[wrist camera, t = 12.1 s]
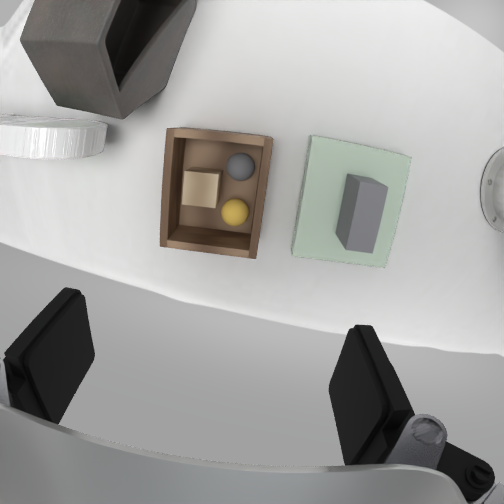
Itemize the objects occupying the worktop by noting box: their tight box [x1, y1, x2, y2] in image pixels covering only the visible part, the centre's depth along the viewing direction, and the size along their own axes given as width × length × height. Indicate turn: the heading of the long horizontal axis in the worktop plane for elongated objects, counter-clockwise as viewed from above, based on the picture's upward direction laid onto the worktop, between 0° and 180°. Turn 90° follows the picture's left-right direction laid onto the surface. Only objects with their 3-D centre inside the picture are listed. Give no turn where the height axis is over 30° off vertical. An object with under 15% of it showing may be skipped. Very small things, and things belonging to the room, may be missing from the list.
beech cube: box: [182, 167, 223, 208], centre depth 34 cm, size 4×4×4 cm
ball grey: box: [226, 153, 255, 181], centre depth 33 cm, size 3×3×3 cm
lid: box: [291, 135, 411, 268], centre depth 33 cm, size 12×14×7 cm
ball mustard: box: [221, 199, 249, 226], centre depth 35 cm, size 3×3×3 cm
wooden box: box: [160, 127, 273, 259], centre depth 33 cm, size 10×12×6 cm
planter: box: [20, 0, 196, 119], centre depth 21 cm, size 17×8×21 cm
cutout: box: [0, 114, 108, 159], centre depth 27 cm, size 15×3×25 cm
